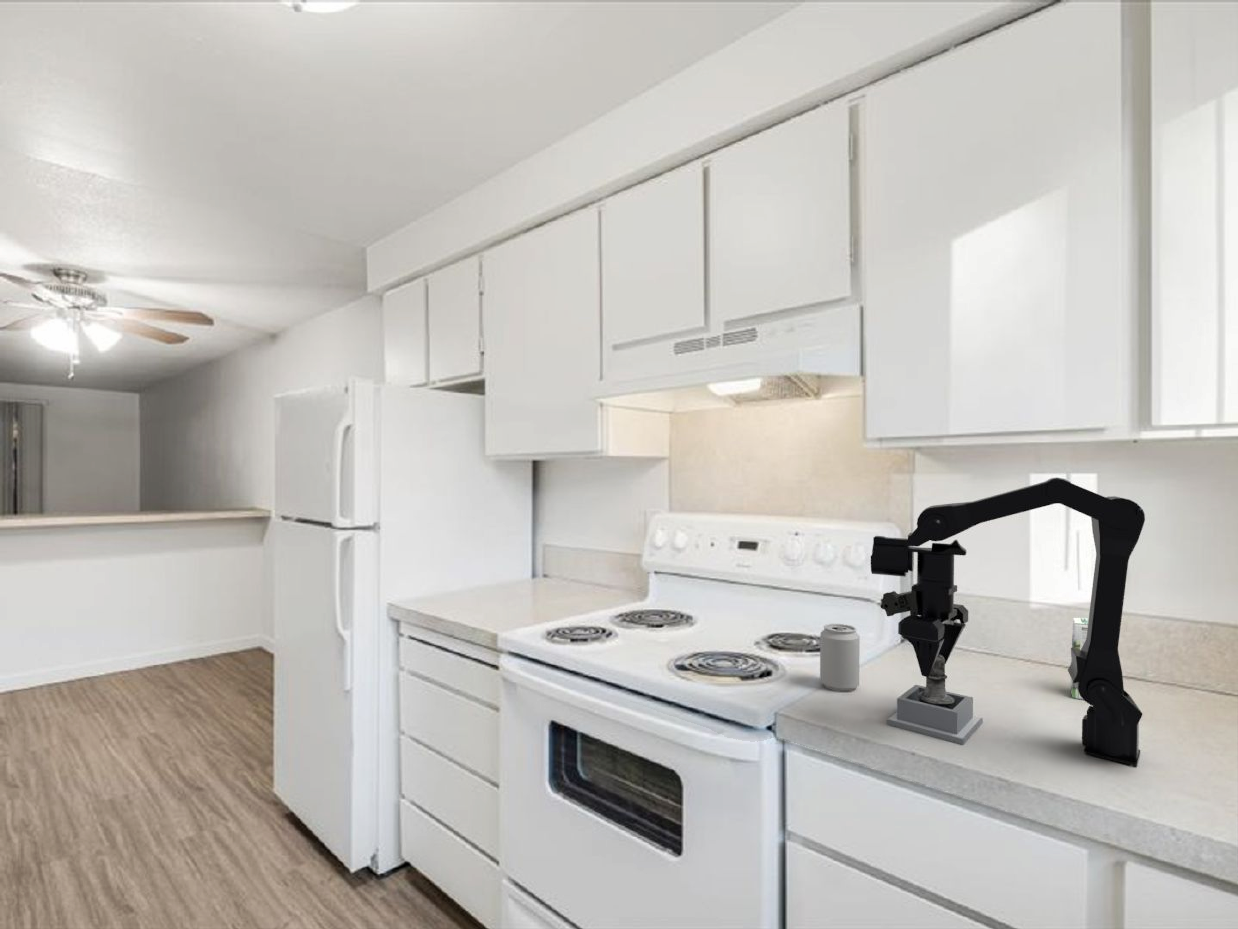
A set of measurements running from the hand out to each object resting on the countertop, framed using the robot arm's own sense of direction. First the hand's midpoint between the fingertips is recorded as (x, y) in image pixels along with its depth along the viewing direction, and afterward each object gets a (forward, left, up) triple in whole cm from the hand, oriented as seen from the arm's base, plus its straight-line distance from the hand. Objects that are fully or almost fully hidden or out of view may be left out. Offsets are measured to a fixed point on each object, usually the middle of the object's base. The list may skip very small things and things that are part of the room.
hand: (934, 669), depth 114 cm
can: (+20, -7, -9) cm, 23 cm away
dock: (0, 0, -9) cm, 9 cm away
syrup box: (-18, -34, -9) cm, 40 cm away
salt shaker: (0, 0, -9) cm, 9 cm away
